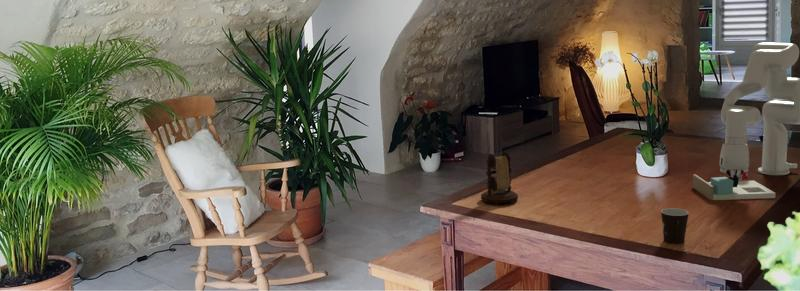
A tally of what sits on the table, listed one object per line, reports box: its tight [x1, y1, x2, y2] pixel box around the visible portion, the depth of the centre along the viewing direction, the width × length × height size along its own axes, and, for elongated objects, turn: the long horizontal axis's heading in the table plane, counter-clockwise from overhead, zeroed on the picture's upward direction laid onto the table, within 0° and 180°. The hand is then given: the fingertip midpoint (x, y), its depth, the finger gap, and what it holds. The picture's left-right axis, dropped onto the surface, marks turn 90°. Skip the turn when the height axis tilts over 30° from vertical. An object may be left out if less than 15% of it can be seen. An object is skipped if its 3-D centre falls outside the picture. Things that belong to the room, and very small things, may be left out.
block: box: [710, 176, 733, 195], centre depth 312 cm, size 6×6×6 cm
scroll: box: [480, 151, 519, 206], centre depth 318 cm, size 15×15×20 cm
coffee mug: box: [660, 207, 690, 245], centre depth 262 cm, size 12×9×10 cm
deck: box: [692, 173, 777, 201], centre depth 319 cm, size 25×20×6 cm
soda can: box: [733, 170, 749, 181], centre depth 335 cm, size 7×7×13 cm
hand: (733, 186), depth 314 cm, fingers closed
